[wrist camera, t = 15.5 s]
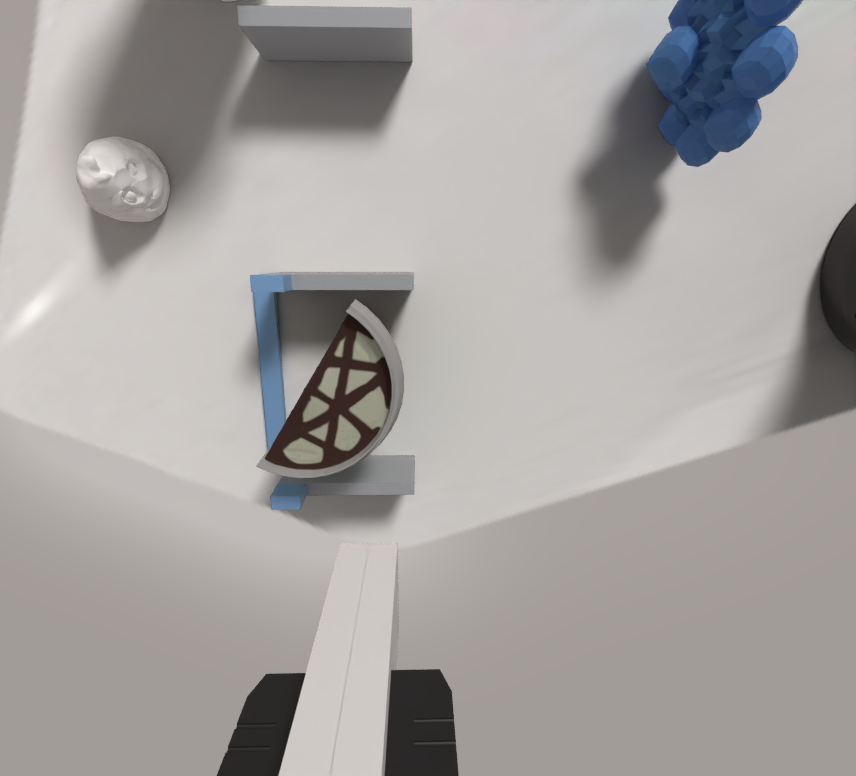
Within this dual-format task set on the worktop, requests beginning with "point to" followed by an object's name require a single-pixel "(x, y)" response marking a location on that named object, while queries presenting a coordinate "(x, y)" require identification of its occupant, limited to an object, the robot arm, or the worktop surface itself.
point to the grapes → (720, 71)
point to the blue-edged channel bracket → (374, 475)
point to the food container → (342, 403)
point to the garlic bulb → (123, 179)
